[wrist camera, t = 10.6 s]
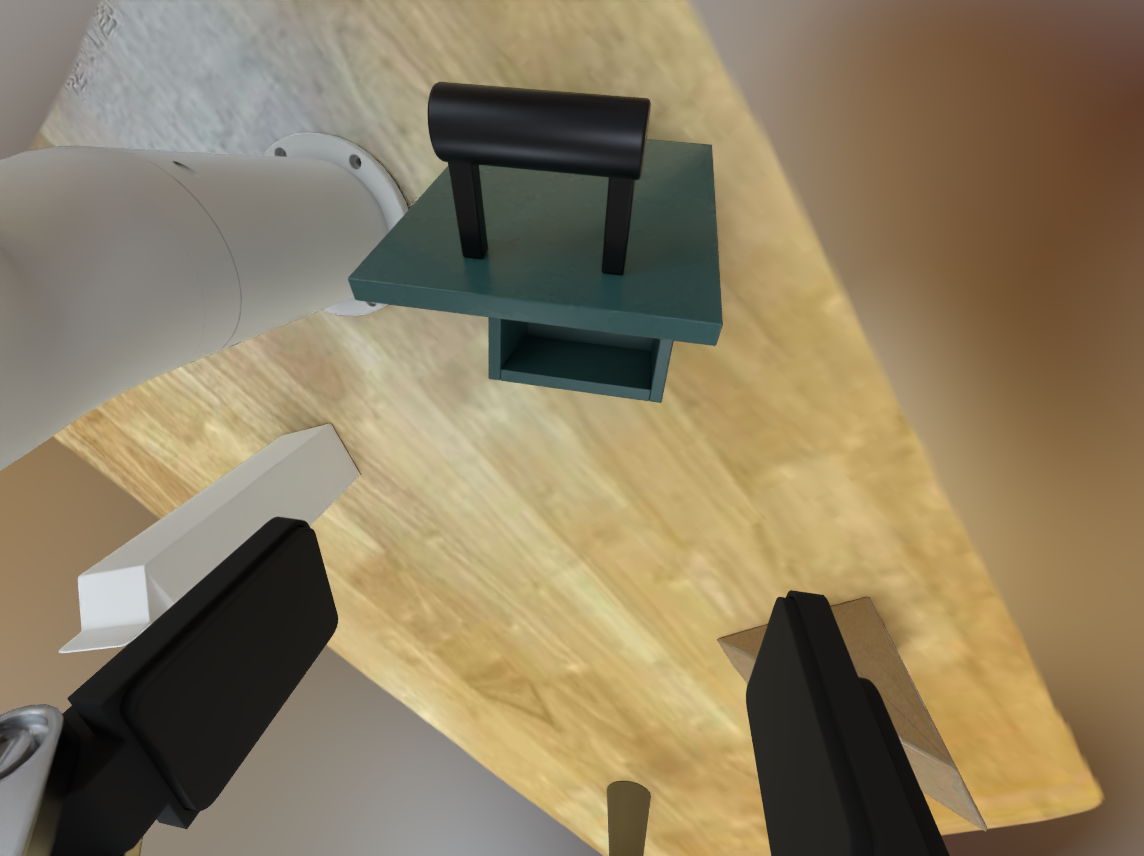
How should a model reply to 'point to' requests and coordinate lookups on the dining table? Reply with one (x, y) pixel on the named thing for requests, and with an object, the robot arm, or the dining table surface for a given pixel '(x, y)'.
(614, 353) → the teal open box
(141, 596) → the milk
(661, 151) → the lid
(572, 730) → the dining table surface
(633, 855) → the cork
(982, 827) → the sandwich container
